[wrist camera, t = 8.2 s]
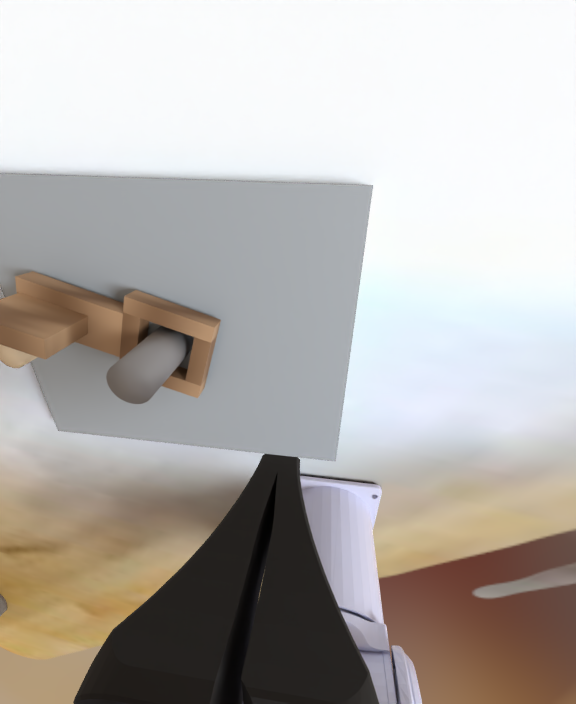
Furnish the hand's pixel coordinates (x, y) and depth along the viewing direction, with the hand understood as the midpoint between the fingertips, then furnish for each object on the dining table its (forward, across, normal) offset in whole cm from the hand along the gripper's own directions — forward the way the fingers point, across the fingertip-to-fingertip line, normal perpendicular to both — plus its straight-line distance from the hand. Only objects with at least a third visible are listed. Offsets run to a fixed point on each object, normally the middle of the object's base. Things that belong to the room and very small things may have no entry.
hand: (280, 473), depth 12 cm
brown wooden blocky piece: (+8, +11, -2) cm, 14 cm away
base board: (+10, +8, -1) cm, 13 cm away
